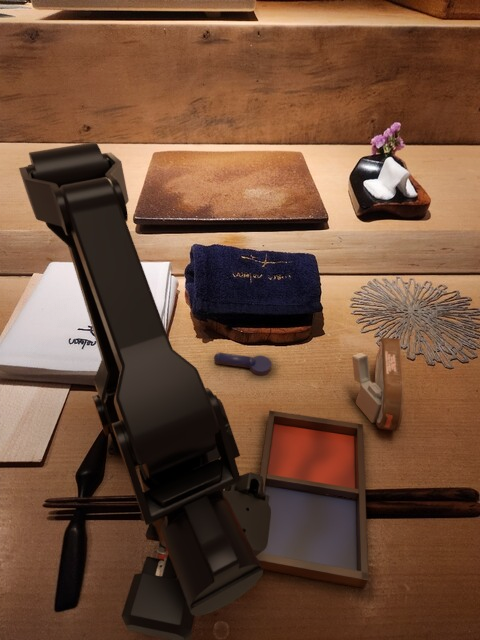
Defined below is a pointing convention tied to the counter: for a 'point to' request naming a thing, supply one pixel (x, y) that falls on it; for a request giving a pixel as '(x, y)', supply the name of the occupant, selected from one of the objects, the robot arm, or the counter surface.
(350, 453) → the sorting tray
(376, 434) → the counter surface
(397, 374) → the tin
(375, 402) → the lighter
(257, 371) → the indigo spoon
